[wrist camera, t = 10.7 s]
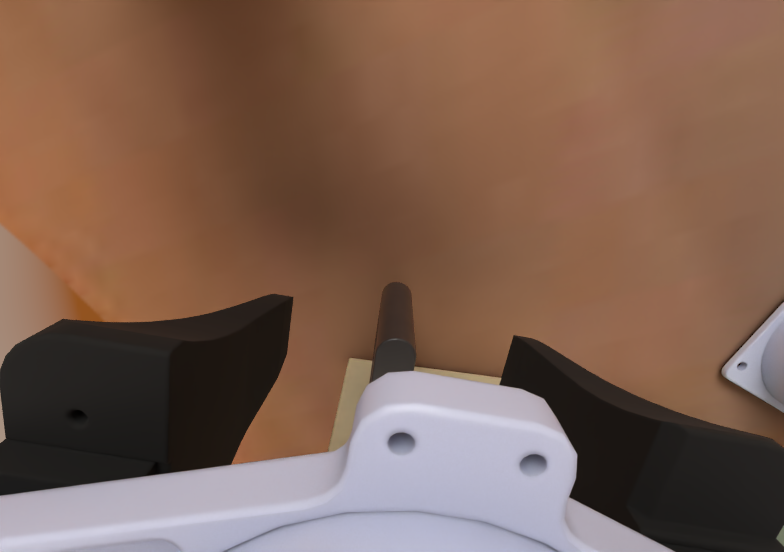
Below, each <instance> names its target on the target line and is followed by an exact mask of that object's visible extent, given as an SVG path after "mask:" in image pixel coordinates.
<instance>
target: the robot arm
mask: <svg viewBox="0 0 784 552" xmlns="http://www.w3.org/2000/svg"><path fill="white" fill-rule="evenodd" d="M292 305H293V297H290V296H284V295H278V294H270V295H266V296H263V297H260V298H257V299H254V300H251V301H249V302H246V303H243V304H240V305H237V306H234V307H230V308H227V309H223V310H220V311H216V312H213V313H209V314H204V315H200V316H194V317H189V318H183V319H174V320H164V321H154V322H95V321H80V320H67V319H62V320H60V321H58V322H56V323H55V324H53V325H51V326H49V327H47V328H45V329H44V330H42V331H40V332H38V333H36V334H35V335H33V336H31V337H29V338H27V339H26V340H23V341H22V342H20V343H18V344H16V345H15V346H14V347H13V348H12V349H11V351H10V352H9V353H8V354H7V355H6V356H5V359H4V361H3V364H2V366H1V369H0V393H1V401H2V410H3V418H4V426H5V435H6V438H7V439H5V440H4V441H3V442H1V443H0V552H784V546H783V545H782V544H781V543H780V542H779V541H778V540H777V539H776V538H777V536H778V534H779V533H780V531H781V529H782V528H783V526H784V448H783V447H782V446H780V445H779V444H778V443H777V442H775V441H774V440H773V439H770V438H767V437H763V436H759V435H755V434H751V433H747V432H743V431H739V430H735V429H731V428H727V427H723V426H719V425H716V424H712V423H709V422H706V421H703V420H700V419H696V418H693V417H690V416H687V415H684V414H681V413H678V412H675V411H672V410H670V409H667V408H665V407H662V406H660V405H657V404H654V403H652V402H649V401H647V400H645V399H642V398H640V397H638V396H635V395H633V394H631V393H629V392H627V391H625V390H623V389H621V388H619V387H616V386H615V385H613V384H611V383H609V382H607V381H605V380H603V379H601V378H600V377H598V376H596V375H594V374H593V373H591V372H589V371H587V370H586V369H584V368H582V367H581V366H579V365H578V364H576V363H574V362H573V361H571V360H569V359H568V358H566V357H565V356H563V355H562V354H560V353H558V352H557V351H555V350H553V349H552V348H550V347H549V346H547V345H545V344H543V343H541V342H539V341H537V340H535V339H532V338H526V337H521V336H515V335H514V336H513V340H512V343H511V347H510V350H509V353H508V357H507V360H506V364H505V367H504V370H503V374H502V377H501V381H500V384H499V385H495V384H489V383H483V382H477V381H471V380H465V379H459V378H453V377H448V376H442V375H436V374H430V373H424V372H418V371H403V372H388V373H386V374H385V375H383V376H381V377H380V378H378V379H376V380H375V381H373V382H371V383H370V384H368V385H367V386H366V388H365V390H364V392H363V394H362V395H361V397H360V399H359V401H358V403H357V405H356V410H355V416H354V422H353V427H352V431H351V434H350V437H349V439H348V440H347V442H346V443H345V444H344V445H343V446H342V447H340V448H339V449H337V450H335V451H331V452H324V453H316V454H309V455H301V456H294V457H286V458H279V459H271V460H264V461H256V462H249V463H241V464H234V465H231V463H232V461H233V459H234V457H235V454H236V452H237V450H238V447H239V445H240V443H241V441H242V439H243V437H244V435H245V433H246V431H247V429H248V427H249V426H250V424H251V422H252V421H253V419H254V417H255V416H256V414H257V412H258V410H259V409H260V407H261V405H262V404H263V402H264V400H265V399H266V397H267V395H268V393H269V392H270V390H271V388H272V387H273V385H274V383H275V381H276V380H277V378H278V375H279V373H280V370H281V368H282V365H283V363H284V360H285V358H286V355H287V348H288V339H289V331H290V322H291V313H292ZM739 363H741V364H740V365H739V366H738V367H737V365H738V364H739ZM722 375H723V376H724V377H725V378H727V379H728V380H730V381H731V382H733V383H735V384H736V385H738V386H740V387H741V388H743V389H745V390H746V391H748V392H750V393H751V394H753V395H755V396H756V397H758V398H760V399H762V400H763V401H765V402H767V403H768V404H770V405H772V406H773V407H775V408H777V409H778V410H780V411H782V412H783V413H784V302H783V303H782V304H781V305H780V306H779V307H778V308H777V309H776V311H775V312H774V313H773V314H772V315H771V316H770V317H769V318H768V319H767V320H766V321H765V322H764V323H763V325H762V326H761V327H760V328H759V329H758V330H757V331H756V332H755V333H754V334H753V335H752V336H751V337H750V338H749V340H748V341H747V342H746V343H745V344H744V345H743V346H742V347H741V348H740V349H739V350H738V351H737V352H736V354H735V355H734V356H733V357H732V358H731V359H730V360H729V361H728V362H727V363H726V364H725V365H724V367H723V368H722Z"/></svg>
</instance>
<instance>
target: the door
mask: <svg viewBox="0 0 784 552" xmlns="http://www.w3.org/2000/svg"><path fill="white" fill-rule="evenodd" d="M415 362H416V346H415V334H414V321H413V309H412V296H411V291H410V289H409V288H408V287H407V286H406V285H405V284H403V283H400V282H393V283H390V284H388V285H387V286H386V287H385V288H384V289H383V291H382V296H381V303H380V310H379V317H378V324H377V331H376V339H375V346H374V353H373V360H372V361H370V360H363V359H355V358H349V361H348V365H347V369H346V374H345V378H344V382H343V387H342V391H341V395H340V400H339V404H338V408H337V413H336V417H335V421H334V426H333V430H332V435H331V439H330V443H329V448H328V452H331V451H335V450H337V449H339V448H340V447H342V446H343V445H344V444H345V443H346V442H347V440H348V439H349V437H350V434H351V431H352V427H353V422H354V416H355V410H356V405H357V403H358V401H359V399H360V397H361V395H362V394H363V392H364V390H365V388H366V386H367V385H368V384H370V383H371V382H373V381H375V380H376V379H378V378H380V377H381V376H383V375H385V374H386V373H388V372H403V371H418V372H424V373H430V374H436V375H442V376H448V377H453V378H459V379H465V380H471V381H477V382H483V383H489V384H495V385H499V384H500V381H501V378H498V377H491V376H483V375H476V374H468V373H461V372H453V371H446V370H438V369H430V368H423V367H415Z"/></svg>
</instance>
